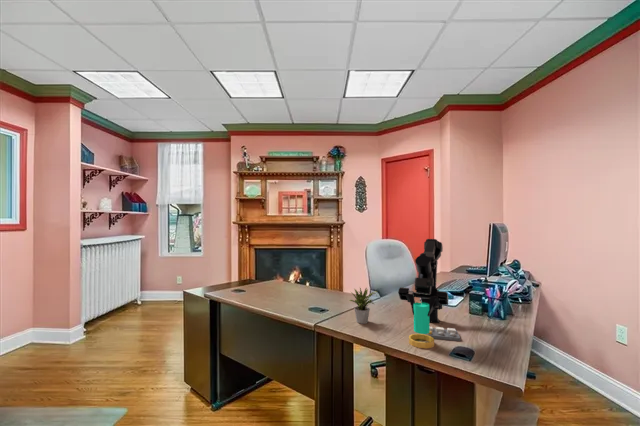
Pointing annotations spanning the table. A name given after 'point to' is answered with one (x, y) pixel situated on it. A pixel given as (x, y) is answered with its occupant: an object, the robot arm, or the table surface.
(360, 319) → the house plant
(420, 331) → the candle
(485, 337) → the table surface
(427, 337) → the ring
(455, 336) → the breaker panel
